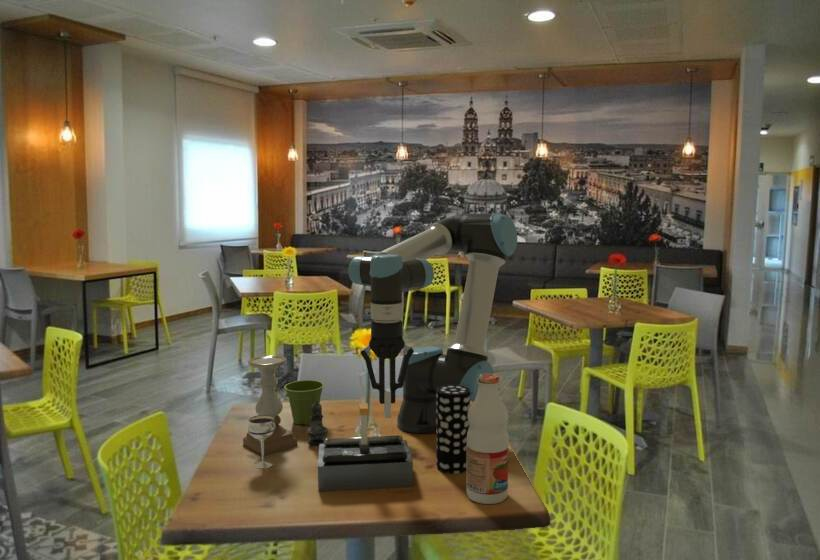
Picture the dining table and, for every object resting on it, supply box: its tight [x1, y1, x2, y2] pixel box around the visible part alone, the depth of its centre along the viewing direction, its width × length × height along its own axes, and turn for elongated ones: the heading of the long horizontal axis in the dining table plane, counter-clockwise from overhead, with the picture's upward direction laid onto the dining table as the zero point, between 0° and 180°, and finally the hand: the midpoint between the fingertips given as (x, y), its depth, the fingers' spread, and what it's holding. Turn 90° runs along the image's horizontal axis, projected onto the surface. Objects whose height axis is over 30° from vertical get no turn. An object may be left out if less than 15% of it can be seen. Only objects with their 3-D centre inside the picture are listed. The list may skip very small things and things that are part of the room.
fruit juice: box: [465, 373, 510, 505], centre depth 150 cm, size 9×9×28 cm
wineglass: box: [247, 414, 275, 470], centre depth 169 cm, size 7×7×12 cm
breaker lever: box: [358, 402, 370, 454], centre depth 161 cm, size 2×4×11 cm, turn 6°
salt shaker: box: [306, 400, 329, 447], centre depth 184 cm, size 6×6×12 cm
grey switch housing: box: [317, 435, 414, 492], centre depth 162 cm, size 22×14×8 cm, turn 96°
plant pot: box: [283, 379, 325, 426], centre depth 200 cm, size 12×12×11 cm
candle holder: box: [242, 355, 298, 456], centre depth 181 cm, size 11×11×24 cm
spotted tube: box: [435, 385, 471, 474], centre depth 166 cm, size 8×8×20 cm
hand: (387, 416), depth 161 cm, fingers closed
